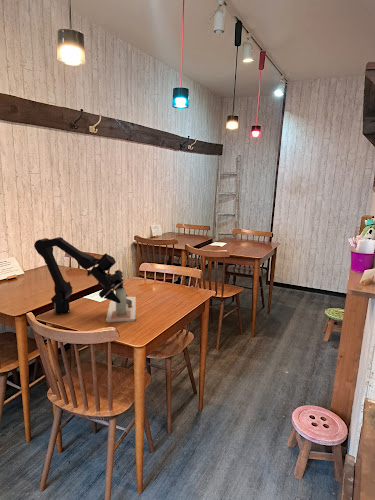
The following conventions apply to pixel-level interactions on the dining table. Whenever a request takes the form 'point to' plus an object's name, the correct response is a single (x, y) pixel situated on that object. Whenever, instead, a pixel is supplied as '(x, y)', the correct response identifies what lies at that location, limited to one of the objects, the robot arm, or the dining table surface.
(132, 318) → the base board
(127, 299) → the brown arch piece
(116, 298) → the robot arm
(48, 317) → the dining table surface
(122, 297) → the grey upright cylinder
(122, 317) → the mat
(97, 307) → the dining table surface
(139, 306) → the dining table surface
